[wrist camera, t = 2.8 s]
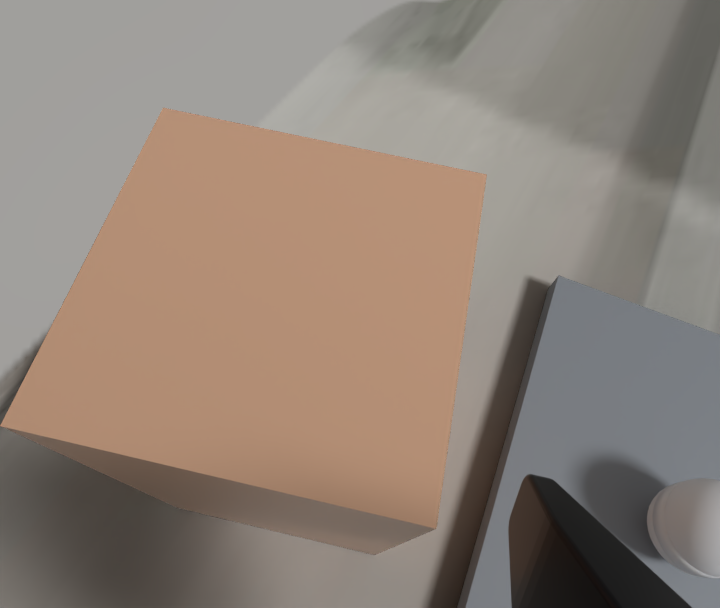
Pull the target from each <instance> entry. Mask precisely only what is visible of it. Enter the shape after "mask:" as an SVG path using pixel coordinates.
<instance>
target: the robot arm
mask: <svg viewBox="0 0 720 608" xmlns="http://www.w3.org/2000/svg"><path fill="white" fill-rule="evenodd" d="M508 537H509V559H510V582H511V605H512V608H692V607H691V606H690V605H689V604H688V603H687V602H686V601H685V600H684V599H683V598H682V597H681V596H679V595H678V594H677V593H676V592H675V591H674V590H673V589H672V588H671V587H670V586H669V585H667V584H666V583H665V582H664V581H663V580H662V579H661V578H660V577H659V576H658V575H657V574H656V573H654V572H653V571H652V570H651V569H650V568H649V567H648V566H647V565H646V564H645V563H644V562H642V561H641V560H640V559H639V558H638V557H637V556H636V555H635V554H634V553H633V552H632V551H631V550H629V549H628V548H627V547H626V546H625V545H624V544H623V543H622V542H621V541H620V540H619V539H617V538H616V537H615V536H614V535H613V534H612V533H611V532H610V531H609V530H608V529H607V528H606V527H604V526H603V525H602V524H601V523H600V522H599V521H598V520H597V519H596V518H595V517H594V516H592V515H591V514H590V513H589V512H588V511H587V510H586V509H585V508H584V507H583V506H582V505H581V504H579V503H578V502H577V501H576V500H575V499H574V498H573V497H572V496H571V495H570V494H569V493H567V492H566V491H565V490H564V489H563V488H562V487H561V486H560V485H559V484H558V483H557V482H556V481H554V480H553V479H550V478H547V477H542V476H538V475H533V474H528V475H526V476H525V477H524V479H523V481H522V483H521V486H520V489H519V492H518V495H517V497H516V500H515V503H514V506H513V509H512V512H511V515H510V519H509V526H508Z"/></svg>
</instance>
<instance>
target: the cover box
mask: <svg viewBox="0 0 720 608" xmlns="http://www.w3.org/2000/svg"><path fill="white" fill-rule="evenodd" d="M486 177H487V175H486V174H481V173H476V172H471V171H467V170H462V169H457V168H452V167H447V166H442V165H438V164H433V163H428V162H423V161H418V160H413V159H409V158H404V157H399V156H394V155H389V154H384V153H380V152H375V151H370V150H365V149H360V148H355V147H350V146H346V145H341V144H336V143H331V142H326V141H321V140H317V139H312V138H307V137H302V136H297V135H292V134H288V133H283V132H278V131H273V130H268V129H263V128H259V127H254V126H249V125H244V124H239V123H234V122H229V121H225V120H220V119H215V118H210V117H205V116H200V115H196V114H191V113H186V112H181V111H176V110H171V109H167V108H163V109H162V111H161V113H160V115H159V117H158V119H157V121H156V123H155V125H154V127H153V129H152V131H151V133H150V134H149V136H148V139H147V140H146V142H145V144H144V146H143V148H142V150H141V152H140V154H139V156H138V158H137V160H136V162H135V164H134V166H133V168H132V170H131V172H130V174H129V175H128V177H127V179H126V181H125V183H124V185H123V187H122V189H121V191H120V193H119V195H118V197H117V199H116V201H115V203H114V205H113V207H112V209H111V211H110V213H109V214H108V217H107V219H106V220H105V222H104V224H103V226H102V228H101V230H100V232H99V234H98V236H97V238H96V240H95V242H94V244H93V246H92V248H91V250H90V252H89V253H88V255H87V257H86V259H85V261H84V264H83V265H82V267H81V269H80V271H79V273H78V275H77V277H76V279H75V281H74V283H73V285H72V287H71V289H70V291H69V293H68V295H67V297H66V298H65V300H64V302H63V304H62V306H61V308H60V310H59V312H58V314H57V316H56V318H55V320H54V322H53V324H52V326H51V328H50V330H49V332H48V333H47V335H46V337H45V339H44V341H43V343H42V345H41V347H40V349H39V351H38V353H37V355H36V357H35V359H34V361H33V363H32V365H31V367H30V369H29V371H28V373H27V374H26V376H25V378H24V380H23V382H22V384H21V386H20V388H19V390H18V392H17V394H16V396H15V398H14V400H13V402H12V404H11V406H10V408H9V410H8V412H7V413H6V415H5V417H4V419H3V421H2V423H1V425H0V426H1V427H3V428H5V429H8V430H10V431H12V432H14V433H16V434H18V435H21V436H23V437H25V438H27V439H29V440H31V441H34V442H36V443H38V444H40V445H42V446H44V447H47V448H49V449H51V450H53V451H55V452H57V453H59V454H62V455H64V456H66V457H68V458H70V459H72V460H75V461H77V462H79V463H81V464H83V465H85V466H88V467H90V468H92V469H94V470H96V471H98V472H101V473H103V474H105V475H107V476H109V477H111V478H114V479H116V480H118V481H120V482H122V483H124V484H127V485H129V486H131V487H133V488H135V489H137V490H140V491H142V492H144V493H146V494H148V495H150V496H152V497H155V498H157V499H159V500H161V501H163V502H165V503H168V504H170V505H172V506H174V507H176V508H180V509H184V510H188V511H192V512H197V513H201V514H205V515H209V516H213V517H217V518H222V519H226V520H230V521H234V522H238V523H243V524H247V525H251V526H255V527H259V528H263V529H268V530H272V531H276V532H280V533H284V534H289V535H293V536H297V537H301V538H305V539H310V540H314V541H318V542H322V543H326V544H330V545H335V546H339V547H343V548H347V549H351V550H356V551H360V552H364V553H368V554H372V555H376V554H378V553H381V552H383V551H385V550H388V549H390V548H392V547H395V546H397V545H399V544H402V543H404V542H406V541H409V540H411V539H414V538H416V537H418V536H421V535H423V534H425V533H428V532H430V531H432V530H435V529H436V527H437V520H438V513H439V506H440V499H441V492H442V485H443V478H444V471H445V464H446V457H447V450H448V443H449V436H450V429H451V422H452V415H453V408H454V401H455V394H456V387H457V380H458V373H459V366H460V359H461V352H462V345H463V338H464V331H465V324H466V317H467V310H468V303H469V296H470V289H471V282H472V275H473V268H474V261H475V254H476V247H477V240H478V233H479V226H480V219H481V212H482V205H483V198H484V191H485V184H486Z"/></svg>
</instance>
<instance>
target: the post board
mask: <svg viewBox="0 0 720 608" xmlns="http://www.w3.org/2000/svg"><path fill="white" fill-rule="evenodd" d="M528 474H533V475H538V476H542V477H547V478H550V479H553V480H554V481H556V482H557V483H558V484H559V485H560V486H561V487H562V488H563V489H564V490H565V491H566V492H567V493H569V494H570V495H571V496H572V497H573V498H574V499H575V500H576V501H577V502H578V503H579V504H581V505H582V506H583V507H584V508H585V509H586V510H587V511H588V512H589V513H590V514H591V515H592V516H594V517H595V518H596V519H597V520H598V521H599V522H600V523H601V524H602V525H603V526H604V527H606V528H607V529H608V530H609V531H610V532H611V533H612V534H613V535H614V536H615V537H616V538H617V539H619V540H620V541H621V542H622V543H623V544H624V545H625V546H626V547H627V548H628V549H629V550H631V551H632V552H633V553H634V554H635V555H636V556H637V557H638V558H639V559H640V560H641V561H642V562H644V563H645V564H646V565H647V566H648V567H649V568H650V569H651V570H652V571H653V572H654V573H656V574H657V575H658V576H659V577H660V578H661V579H662V580H663V581H664V582H665V583H666V584H667V585H669V586H670V587H671V588H672V589H673V590H674V591H675V592H676V593H677V594H678V595H679V596H681V597H682V598H683V599H684V600H685V601H686V602H687V603H688V604H689V605H690V606H691V607H692V608H720V335H719V334H716V333H713V332H711V331H708V330H705V329H703V328H700V327H697V326H694V325H692V324H689V323H686V322H684V321H681V320H678V319H675V318H673V317H670V316H667V315H665V314H662V313H659V312H656V311H654V310H651V309H648V308H646V307H643V306H640V305H637V304H635V303H632V302H629V301H627V300H624V299H621V298H618V297H616V296H613V295H610V294H608V293H605V292H602V291H599V290H597V289H594V288H591V287H588V286H586V285H583V284H580V283H578V282H575V281H572V280H569V279H567V278H564V277H561V276H558V277H557V278H556V279H555V281H554V282H553V283H552V285H551V286H550V287H549V288H548V292H547V295H546V299H545V302H544V306H543V309H542V313H541V316H540V320H539V323H538V327H537V330H536V333H535V337H534V340H533V344H532V347H531V351H530V354H529V358H528V361H527V365H526V368H525V372H524V375H523V379H522V382H521V386H520V389H519V393H518V396H517V400H516V403H515V407H514V410H513V414H512V417H511V421H510V424H509V428H508V431H507V435H506V438H505V442H504V445H503V449H502V452H501V456H500V459H499V463H498V466H497V470H496V473H495V477H494V480H493V484H492V487H491V491H490V494H489V498H488V501H487V505H486V508H485V512H484V515H483V519H482V522H481V526H480V529H479V533H478V536H477V540H476V543H475V546H474V550H473V553H472V557H471V560H470V564H469V567H468V571H467V574H466V578H465V581H464V585H463V588H462V592H461V595H460V599H459V602H458V606H457V608H512V605H511V582H510V559H509V537H508V526H509V519H510V515H511V512H512V509H513V506H514V503H515V500H516V497H517V495H518V492H519V489H520V486H521V483H522V481H523V479H524V477H525V476H526V475H528Z"/></svg>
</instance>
